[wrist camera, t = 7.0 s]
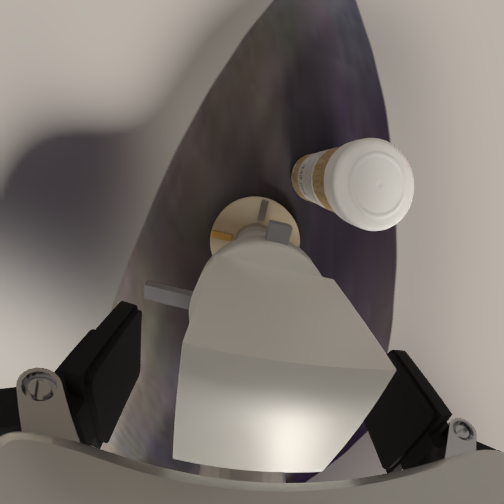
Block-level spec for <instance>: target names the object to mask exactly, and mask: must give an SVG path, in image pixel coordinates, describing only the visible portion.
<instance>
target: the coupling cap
mask: <svg viewBox="0 0 504 504" xmlns="http://www.w3.org/2000/svg"><path fill="white" fill-rule="evenodd" d="M292 229H293V227H292V226H291V225H290V224H287V223H283V222H279V221H274V220H270V219H269V223H268V227H267V231H266V235H254V236H247V237H243V238H239V239H237V240H234V241H232V242H230V243H228V244H226V245H224V246H223V247H222V248H220V249H219V250H218V251H217V252H216V253H215V254H214V255H212V257H211V258H210V259H209V260H208V262H207V263H206V265H205V267H204V269H203V271H202V273H201V275H200V277H199V280H198V282H197V284H196V287H195V289H194V291H190V290H185V289H181V288H177V287H173V286H168V285H164V284H160V283H156V282H152V281H147V282H146V283H145V284H144V294H143V299H147V300H151V301H155V302H159V303H163V304H167V305H171V306H175V307H179V308H184V309H188V310H189V322H190V323H189V326H188V328H187V331H186V334H185V337H184V340H183V342H182V350H181V359H180V368H179V378H178V389H177V400H176V413H175V427H174V444H173V459H177V460H182V461H187V462H192V463H197V464H202V465H208V466H215V467H222V468H229V469H238V470H248V471H262V472H322V471H323V470H324V469H325V468H326V466H327V465H328V464H329V463H330V462H331V461H332V460H333V459H334V457H335V456H336V455H337V454H338V453H339V452H340V450H341V449H342V448H343V447H344V445H345V444H346V443H347V442H348V440H349V439H350V438H351V437H352V435H353V434H354V433H355V431H356V430H357V429H358V428H359V426H360V425H361V423H362V422H363V421H364V419H365V418H366V417H367V415H368V414H369V412H370V411H371V409H372V408H373V407H374V405H375V404H376V402H377V401H378V399H379V398H380V396H381V394H382V393H383V391H384V390H385V388H386V387H387V385H388V383H389V382H390V380H391V379H392V377H393V375H394V373H395V372H396V368H395V367H394V365H393V363H392V362H391V360H390V359H389V357H388V356H387V354H386V353H385V351H384V350H383V349H382V347H381V346H380V344H379V343H378V341H377V340H376V338H375V337H374V335H373V334H372V332H371V331H370V330H369V328H368V327H367V325H366V324H365V322H364V321H363V320H362V318H361V317H360V315H359V314H358V312H357V311H356V310H355V308H354V307H353V305H352V304H351V303H350V301H349V300H348V299H347V297H346V296H345V294H344V293H343V292H342V290H341V289H340V288H339V286H338V285H337V283H336V282H335V281H334V279H329V278H324V277H322V276H321V274H320V273H319V271H318V270H317V268H316V267H315V265H314V264H313V262H312V261H311V259H310V258H309V257H308V256H307V254H306V253H305V252H304V251H302V250H301V249H300V248H299V247H298V246H296V245H294V244H293V243H291V242H289V240H290V236H291V232H292Z"/></svg>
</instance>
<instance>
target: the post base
mask: <svg viewBox="0 0 504 504" xmlns="http://www.w3.org/2000/svg"><path fill="white" fill-rule="evenodd" d="M269 219H270V220H274V221H279V222H283V223H287V224H290V225H291V226H292V227H293V229H292V232H291V236H290V240H289V242H291V243H293V244H294V245H296V246H298V247H300V235H299V230H298V227H297V224H296V222H295V220H294V219H293V217H292V216H291V214H290V213H289V212H288V211H287V210H286V209H285V208H284V207H283V206H282V205H280V204H279V203H277V202H276V201H274V200H271V199H269V198H266V197H260V196H250V197H244V198H241V199H238V200H236V201H234V202H232V203H231V204H229V205H228V206H227V207H226V208H224V209H223V211H222V212H221V213H220V214H219V216H218V217H217V219H216V221H215V222H214V225H213V227H212V230H211V235H210V248H211V253H212V255H214V254H215V253H216V252H217V251H218V250H219V249H220V248H222V247H223V246H224V245H226V244H228V243H230V242H232V241H234V240H237V239H239V238H243V237H247V236H254V235H266V231H267V227H268V223H269Z"/></svg>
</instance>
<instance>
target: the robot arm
mask: <svg viewBox="0 0 504 504" xmlns="http://www.w3.org/2000/svg"><path fill="white" fill-rule="evenodd" d="M141 320H142V312H141V311H140V310H138V308H137V305H134V304H131V303H127V302H124V301H121V302H120V303H119V304H118V305H117V306H116V307H115V308H114V309H113V310H112V312H111V313H110V314H109V315H108V316H107V317H106V318H105V320H104V321H103V322H102V323H101V324H100V325H99V326H98V327H97V329H96V330H94V329H93V330H90V331H89V332H88V333H87V335H86V336H85V337H84V338H83V339H82V340H81V341H80V342H79V344H78V345H77V346H76V347H75V348H74V349H73V351H72V352H71V353H70V354H69V355H68V356H67V358H66V359H65V360H64V361H63V362H62V364H61V365H60V366H59V367H58V368H57V370H56V371H55V372H52V371H50V370H48V369H44V368H33V369H29V370H27V371H25V372H24V373H22V374H21V375H20V377H19V378H18V380H17V386H16V387H14V388H5V389H0V504H504V453H503V452H501V451H499V450H496V449H493V448H491V447H489V446H486V445H484V444H482V443H479V442H477V441H476V431H475V429H474V427H473V426H472V425H471V424H470V423H469V422H468V421H466V420H464V419H461V418H455V419H453V420H452V421H451V422H450V423H449V424H447V420H448V419H449V418H450V417H451V415H452V413H451V412H450V411H449V409H448V408H447V406H446V405H445V404H444V402H443V401H442V399H441V398H440V397H439V395H438V394H437V392H436V391H435V390H434V388H433V387H432V386H431V384H430V383H429V382H428V380H427V379H426V378H425V376H424V375H423V374H422V373H421V371H420V370H419V368H418V367H417V366H416V365H415V363H414V362H413V361H412V359H411V358H410V357H409V355H408V354H407V353H406V352H405V351H400V350H392V351H390V352H389V353H388V354H387V356H388V357H389V359H390V360H391V362H392V363H393V365H394V367H395V368H396V372H395V373H394V375H393V377H392V379H391V380H390V382H389V383H388V385H387V387H386V388H385V390H384V391H383V393H382V394H381V396H380V398H379V399H378V401H377V402H376V404H375V405H374V407H373V408H372V409H371V411H370V412H369V414H368V415H367V417H366V418H365V419H364V422H365V425H366V427H367V430H368V432H369V434H370V437H371V439H372V442H373V444H374V447H375V449H376V452H377V454H378V457H379V459H380V462H381V464H382V467H383V468H384V469H386V472H387V474H382V475H377V476H371V477H365V478H358V479H351V480H341V481H330V482H315V483H285V473H284V472H262V471H248V470H238V469H229V468H222V467H215V466H208V465H202V464H200V472H199V475H194V474H189V473H184V472H179V471H174V470H170V469H165V468H161V467H157V466H153V465H149V464H146V463H142V462H139V461H135V460H132V459H129V458H126V457H123V456H120V455H116V454H113V453H110V452H107V451H104V450H101V449H100V447H101V445H102V443H103V442H105V443H108V442H109V440H110V437H111V435H112V433H113V431H114V428H115V426H116V424H117V422H118V419H119V417H120V415H121V413H122V411H123V408H124V406H125V404H126V402H127V400H128V398H129V396H130V393H131V391H132V389H133V387H134V385H135V383H136V381H137V379H138V377H139V374H140V352H141ZM90 445H91V446H90ZM92 446H93V447H92ZM95 447H96V448H95ZM402 469H403V470H402Z"/></svg>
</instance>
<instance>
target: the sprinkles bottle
mask: <svg viewBox="0 0 504 504" xmlns="http://www.w3.org/2000/svg"><path fill="white" fill-rule="evenodd" d="M291 181H292V185H293V188H294V189H295V191H296V192H297V194H298V195H299V196H300V197H302V198H303V199H305V200H307V201H311V202H314V203H316V204H318V205H319V206H321V207H323V208H325V209H327V210H330V211H332V212H335V213H336V214H337V215H338V216H339V217H340V218H341V219H343V220H344V221H346V222H348V223H350V224H352V225H354V226H356V227H358V228H361V229H364V230H368V231H381V230H385V229H388V228H390V227H392V226H394V225H395V224H397V223H398V222H399V221H400V220H401V219H402V218H403V217H404V216H405V214H406V213H407V211H408V210H409V208H410V206H411V203H412V200H413V195H414V177H413V172H412V169H411V166H410V164H409V162H408V160H407V158H406V157H405V156H404V154H403V153H402V152H401V151H400V150H399V149H398V148H397V147H396V146H395V145H393V144H391V143H390V142H388V141H385V140H382V139H378V138H365V139H360V140H355V141H351V142H348V143H346V144H344V145H343V146H341V147H337V148H332V149H329V150H324V151H321V152H317V153H314V154H308V155H305V156H304V157H302V158H300V159H299V160H298V161H297V162H296V164H295V165H294V167H293V170H292V176H291Z"/></svg>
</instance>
